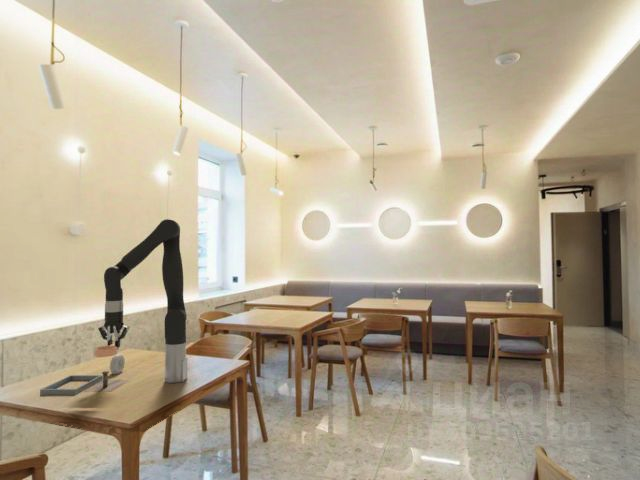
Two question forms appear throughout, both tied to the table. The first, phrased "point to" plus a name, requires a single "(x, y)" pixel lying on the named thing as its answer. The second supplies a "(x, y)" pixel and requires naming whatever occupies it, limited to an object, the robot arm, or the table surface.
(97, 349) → the ring
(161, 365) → the table surface
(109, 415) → the table surface
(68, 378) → the tray
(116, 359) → the donut
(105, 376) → the panel
